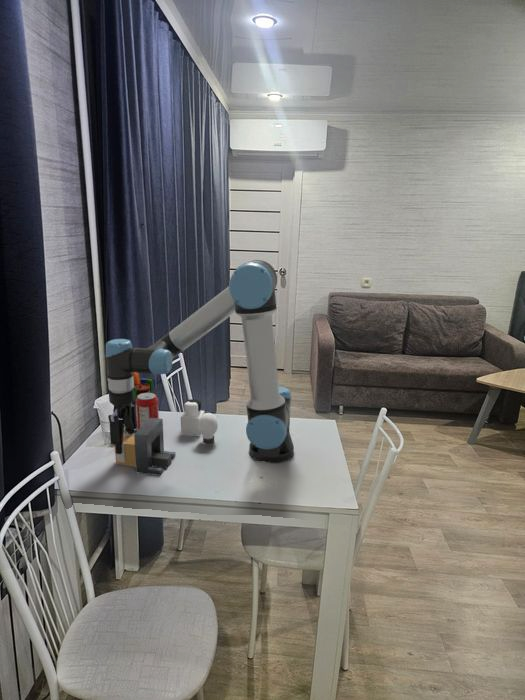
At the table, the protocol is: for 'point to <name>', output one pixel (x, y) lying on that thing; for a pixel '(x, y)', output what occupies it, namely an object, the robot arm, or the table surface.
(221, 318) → the robot arm
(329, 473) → the table surface
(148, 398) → the soda can
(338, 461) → the table surface
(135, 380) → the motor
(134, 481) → the table surface
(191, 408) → the medicine bottle
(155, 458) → the plug
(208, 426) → the light bulb
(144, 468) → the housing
